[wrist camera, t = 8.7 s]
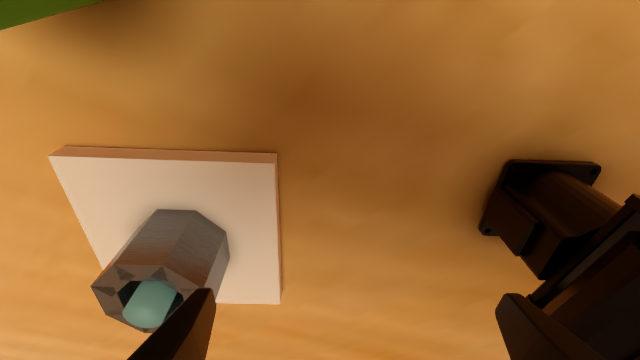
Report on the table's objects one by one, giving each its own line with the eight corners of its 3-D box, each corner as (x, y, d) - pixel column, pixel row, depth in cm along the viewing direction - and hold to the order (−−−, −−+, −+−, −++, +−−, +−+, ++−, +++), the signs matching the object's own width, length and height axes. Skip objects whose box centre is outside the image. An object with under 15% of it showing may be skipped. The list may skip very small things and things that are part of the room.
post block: (277, 153, 20) (257, 225, 13) (282, 290, 27) (271, 379, 20) (65, 146, 19) (-63, 216, 13) (128, 286, 26) (66, 377, 20)
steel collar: (222, 211, 20) (197, 266, 16) (232, 274, 23) (214, 334, 19) (129, 208, 20) (77, 263, 16) (152, 272, 23) (115, 332, 19)
